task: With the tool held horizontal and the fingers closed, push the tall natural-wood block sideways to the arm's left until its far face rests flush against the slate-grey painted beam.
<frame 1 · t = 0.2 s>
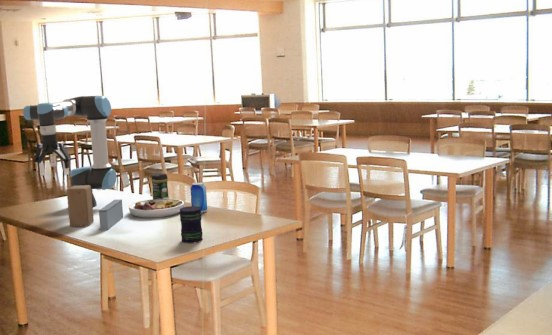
hand: (54, 175, 335), 27 cm above the table, tool pointing down, fingers open, 13 cm apart
beam: (112, 223, 342), on the table
coffee jar: (161, 204, 388), on the table
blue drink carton: (199, 212, 362), on the table
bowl: (157, 213, 365), on the table
wooden block: (82, 224, 343), on the table
storage jar: (192, 240, 303), on the table
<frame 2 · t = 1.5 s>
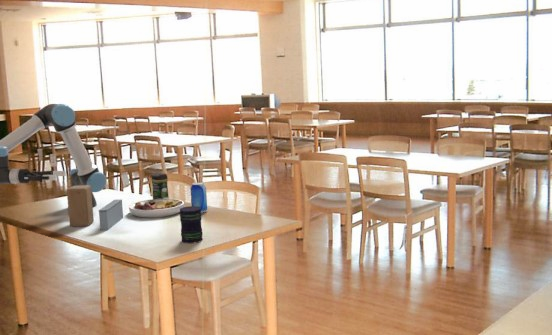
hand: (60, 175, 339), 26 cm above the table, tool horizontal, fingers open, 13 cm apart
nothing on the table moved.
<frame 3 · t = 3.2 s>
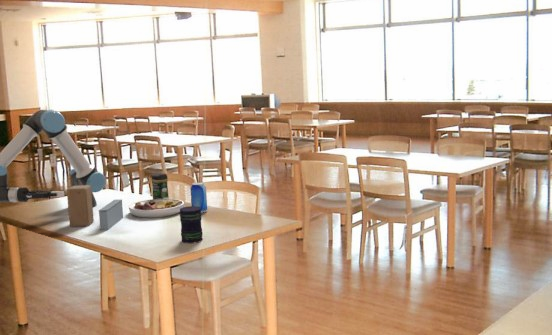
hand: (63, 194, 340), 16 cm above the table, tool horizontal, fingers closed
nothing on the table moved.
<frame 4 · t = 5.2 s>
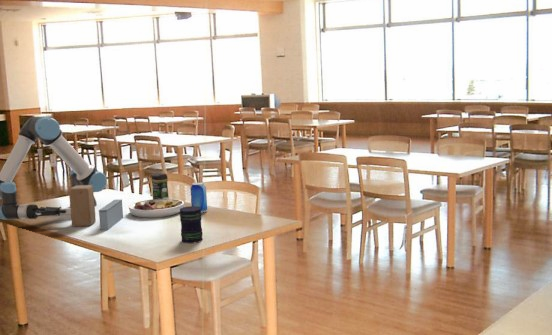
hand: (72, 210, 341), 7 cm above the table, tool horizontal, fingers closed
wooden block: (84, 224, 343), on the table, touching gripper
everything else where it was.
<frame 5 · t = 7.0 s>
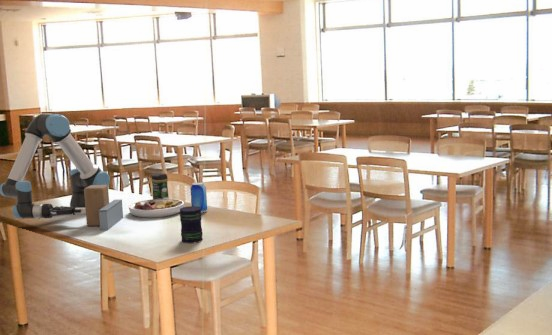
hand: (87, 210, 341), 7 cm above the table, tool horizontal, fingers closed
wooden block: (98, 224, 342), on the table, touching beam, gripper
everything else where it was.
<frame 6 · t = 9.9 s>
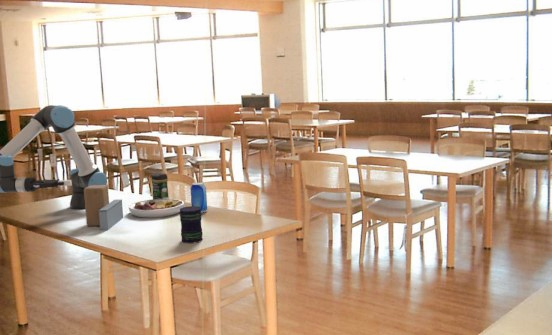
hand: (70, 182, 339), 22 cm above the table, tool horizontal, fingers closed
wooden block: (98, 224, 342), on the table
everything else where it was.
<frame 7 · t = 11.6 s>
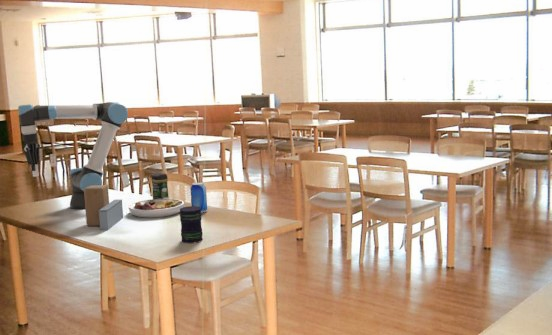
hand: (36, 176, 358), 23 cm above the table, tool pointing down, fingers closed
nothing on the table moved.
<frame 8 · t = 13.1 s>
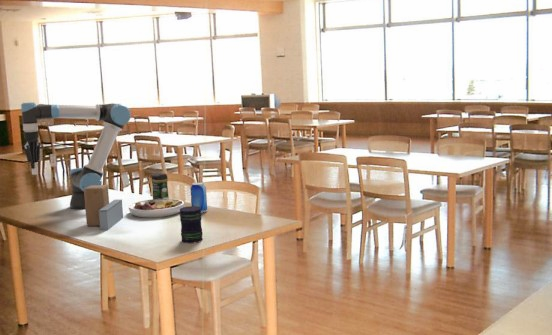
hand: (35, 174, 358), 24 cm above the table, tool pointing down, fingers closed
nothing on the table moved.
at the end: wooden block 0.4 cm from the target spot on the table beside the beam, on the table; wooden block tilted 0°; wooden block moved 9.0 cm from its start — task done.
